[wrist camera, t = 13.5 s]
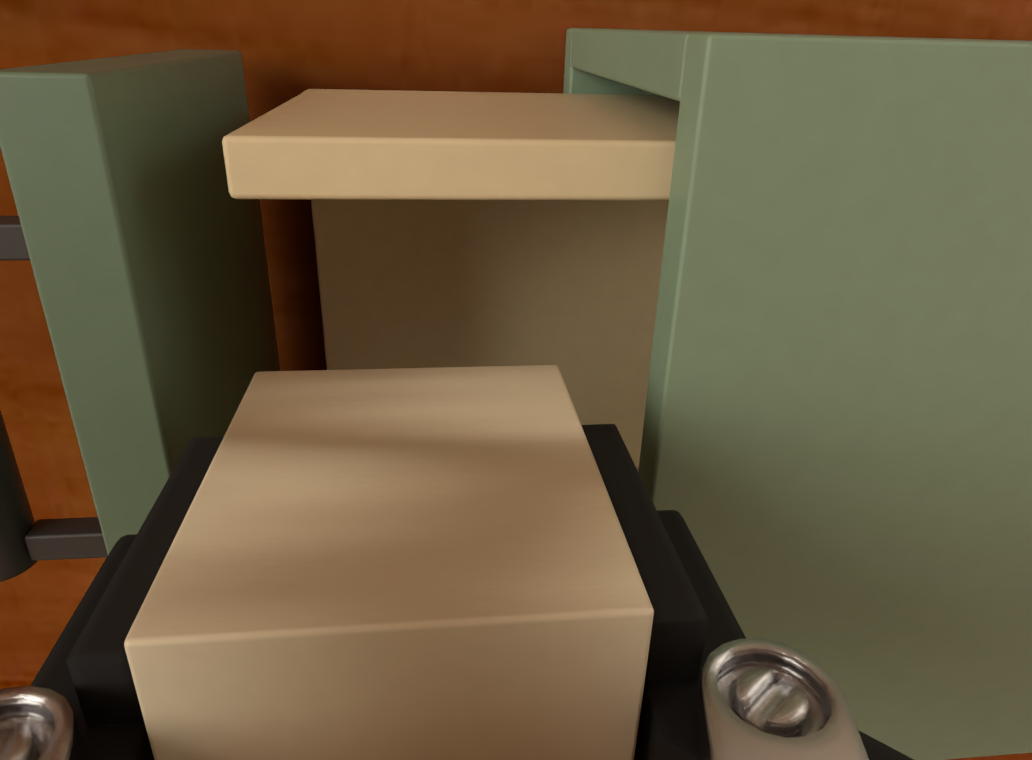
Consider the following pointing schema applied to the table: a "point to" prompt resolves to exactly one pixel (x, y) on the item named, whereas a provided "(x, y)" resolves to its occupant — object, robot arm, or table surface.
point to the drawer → (339, 251)
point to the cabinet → (851, 357)
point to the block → (397, 579)
